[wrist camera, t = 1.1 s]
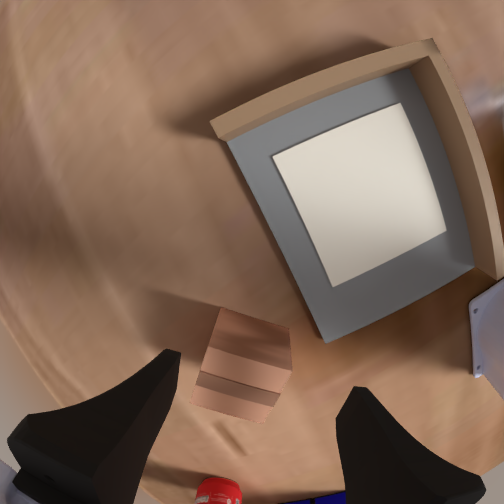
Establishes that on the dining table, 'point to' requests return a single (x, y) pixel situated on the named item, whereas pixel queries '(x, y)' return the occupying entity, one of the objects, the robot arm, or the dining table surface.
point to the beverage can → (218, 491)
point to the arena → (369, 183)
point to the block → (243, 367)
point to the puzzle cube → (324, 499)
